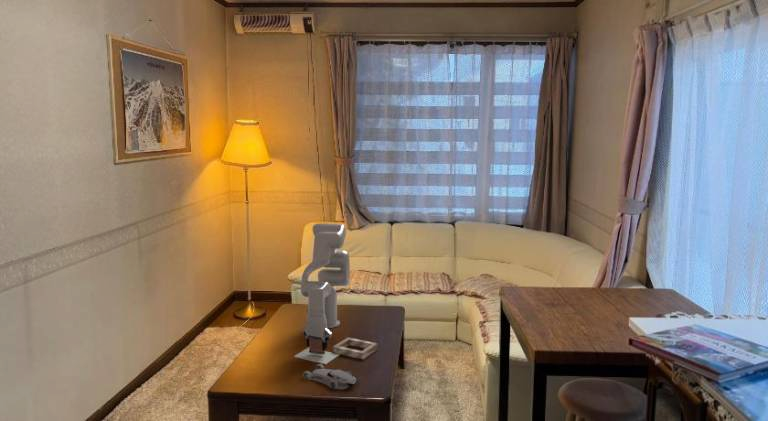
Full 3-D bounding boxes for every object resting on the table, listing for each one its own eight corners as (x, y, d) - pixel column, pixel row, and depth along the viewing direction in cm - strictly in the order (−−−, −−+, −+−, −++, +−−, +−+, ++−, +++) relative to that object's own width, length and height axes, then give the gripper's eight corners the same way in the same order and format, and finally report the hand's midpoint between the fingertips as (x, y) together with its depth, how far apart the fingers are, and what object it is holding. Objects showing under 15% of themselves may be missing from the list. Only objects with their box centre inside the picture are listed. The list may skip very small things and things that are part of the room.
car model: (317, 369, 240) (317, 359, 239) (362, 383, 227) (362, 372, 226) (301, 378, 231) (301, 367, 230) (346, 393, 218) (346, 382, 217)
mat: (293, 356, 253) (293, 356, 252) (308, 348, 263) (308, 347, 263) (325, 364, 244) (325, 363, 244) (339, 355, 255) (339, 354, 255)
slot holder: (332, 352, 258) (332, 346, 257) (347, 343, 270) (347, 337, 270) (363, 359, 250) (363, 353, 250) (377, 349, 262) (377, 343, 262)
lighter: (326, 352, 254) (326, 332, 253) (323, 355, 251) (322, 334, 249) (310, 350, 257) (310, 330, 255) (307, 352, 253) (307, 332, 252)
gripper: (296, 311, 252) (297, 346, 254) (327, 317, 244) (327, 353, 246) (306, 306, 258) (306, 341, 261) (336, 312, 250) (336, 348, 253)
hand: (316, 347), depth 253 cm, fingers closed on lighter, 8 cm apart
